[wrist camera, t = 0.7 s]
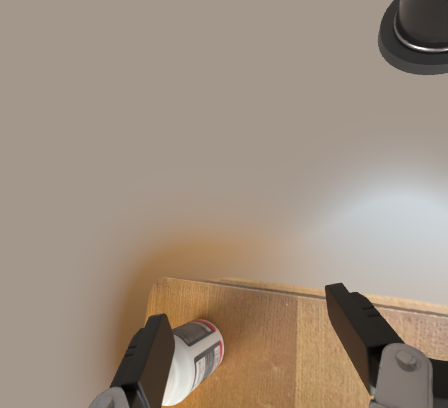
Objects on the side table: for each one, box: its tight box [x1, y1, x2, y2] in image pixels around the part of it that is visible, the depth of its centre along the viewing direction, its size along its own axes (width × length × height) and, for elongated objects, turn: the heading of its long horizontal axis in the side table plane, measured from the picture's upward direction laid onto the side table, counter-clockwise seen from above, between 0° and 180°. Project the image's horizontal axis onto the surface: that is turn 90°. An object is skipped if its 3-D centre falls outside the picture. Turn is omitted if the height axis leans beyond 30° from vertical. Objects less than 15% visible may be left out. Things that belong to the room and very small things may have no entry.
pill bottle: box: [162, 319, 224, 406], centre depth 23 cm, size 5×5×10 cm
